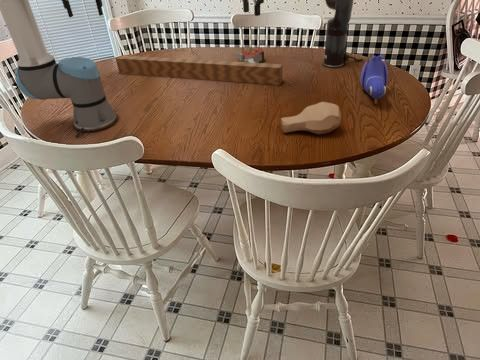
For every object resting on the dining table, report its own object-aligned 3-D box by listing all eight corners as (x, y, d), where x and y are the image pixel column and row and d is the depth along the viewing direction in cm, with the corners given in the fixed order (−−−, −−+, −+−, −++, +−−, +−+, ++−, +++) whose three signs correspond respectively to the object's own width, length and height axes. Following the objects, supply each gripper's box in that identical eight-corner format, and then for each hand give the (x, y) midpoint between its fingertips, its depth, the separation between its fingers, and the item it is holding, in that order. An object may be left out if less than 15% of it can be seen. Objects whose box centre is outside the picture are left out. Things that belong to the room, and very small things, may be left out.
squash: (345, 135, 116) (346, 113, 109) (284, 145, 118) (282, 124, 111) (337, 115, 123) (337, 93, 117) (280, 125, 125) (277, 104, 119)
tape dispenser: (256, 76, 167) (275, 61, 180) (255, 65, 164) (276, 50, 176) (225, 69, 175) (246, 55, 187) (224, 59, 171) (245, 45, 184)
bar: (119, 73, 177) (115, 58, 173) (124, 70, 181) (120, 55, 176) (279, 85, 154) (280, 67, 149) (282, 81, 157) (282, 64, 153)
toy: (357, 95, 150) (363, 108, 128) (360, 53, 144) (367, 59, 122) (382, 94, 148) (392, 108, 126) (386, 52, 142) (398, 58, 119)
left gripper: (103, -43, 147) (116, 12, 160) (44, -40, 148) (62, 15, 161) (96, -42, 141) (111, 16, 153) (36, -38, 142) (55, 19, 155)
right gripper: (269, -35, 124) (269, 15, 134) (249, -37, 134) (250, 9, 144) (251, -33, 121) (252, 18, 131) (231, -35, 132) (234, 12, 141)
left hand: (86, 15), depth 157 cm, fingers open, 13 cm apart
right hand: (251, 13), depth 137 cm, fingers open, 8 cm apart
